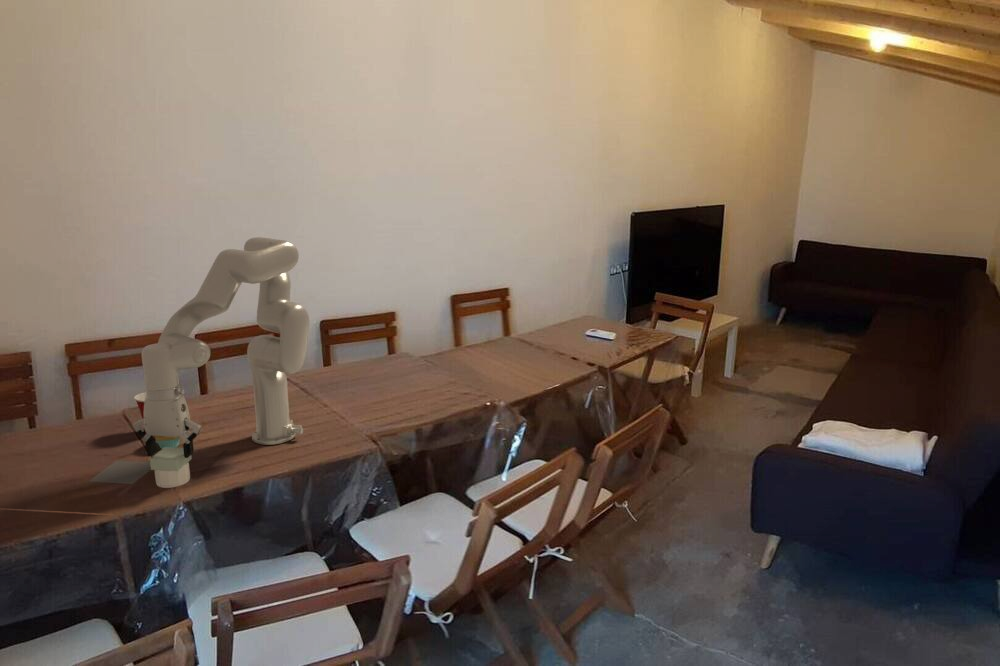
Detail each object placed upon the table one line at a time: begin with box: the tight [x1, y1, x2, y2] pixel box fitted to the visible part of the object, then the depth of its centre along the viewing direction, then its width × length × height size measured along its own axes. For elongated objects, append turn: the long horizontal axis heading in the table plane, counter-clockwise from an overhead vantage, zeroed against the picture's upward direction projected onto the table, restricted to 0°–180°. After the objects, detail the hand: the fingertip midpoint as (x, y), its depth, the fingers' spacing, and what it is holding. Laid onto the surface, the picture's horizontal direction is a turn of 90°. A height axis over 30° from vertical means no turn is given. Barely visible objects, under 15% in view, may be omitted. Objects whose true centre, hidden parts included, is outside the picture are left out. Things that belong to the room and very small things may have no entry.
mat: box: [88, 460, 152, 485], centre depth 177 cm, size 12×12×1 cm
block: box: [149, 447, 193, 471], centre depth 172 cm, size 7×7×3 cm
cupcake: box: [153, 436, 181, 450], centre depth 192 cm, size 9×8×12 cm
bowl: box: [153, 461, 191, 489], centre depth 173 cm, size 8×8×5 cm
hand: (170, 454), depth 172 cm, fingers open, 9 cm apart
